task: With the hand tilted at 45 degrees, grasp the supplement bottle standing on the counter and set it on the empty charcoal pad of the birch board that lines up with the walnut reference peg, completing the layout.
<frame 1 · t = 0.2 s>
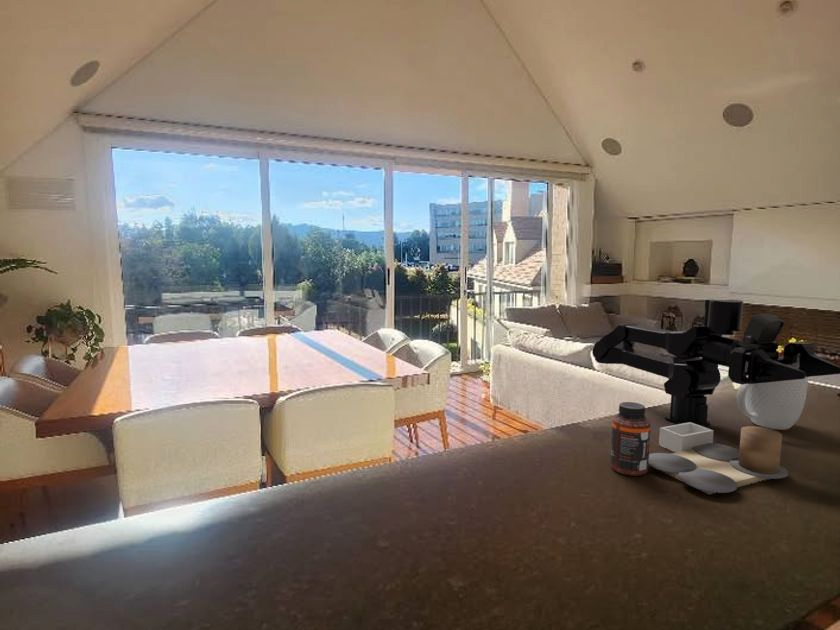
hand: (823, 373, 83), 17 cm above the kitchen counter, tool horizontal, fingers open, 9 cm apart
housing: (685, 446, 95), on the kitchen counter
board: (712, 469, 85), on the kitchen counter
mug: (766, 426, 107), on the kitchen counter
supplement bottle: (628, 470, 85), on the kitchen counter
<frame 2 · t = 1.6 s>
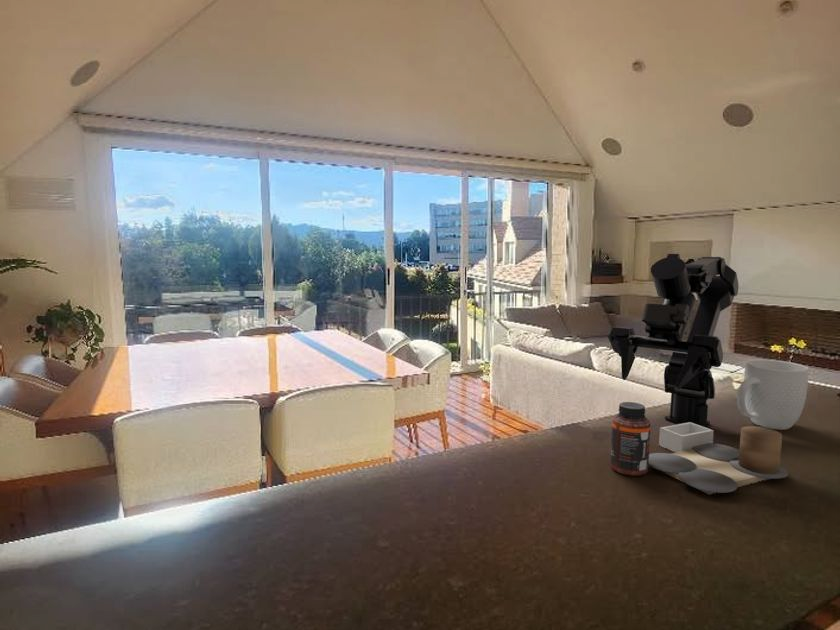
hand: (649, 383, 89), 14 cm above the kitchen counter, tool tilted 45°, fingers open, 9 cm apart
nothing on the kitchen counter moved.
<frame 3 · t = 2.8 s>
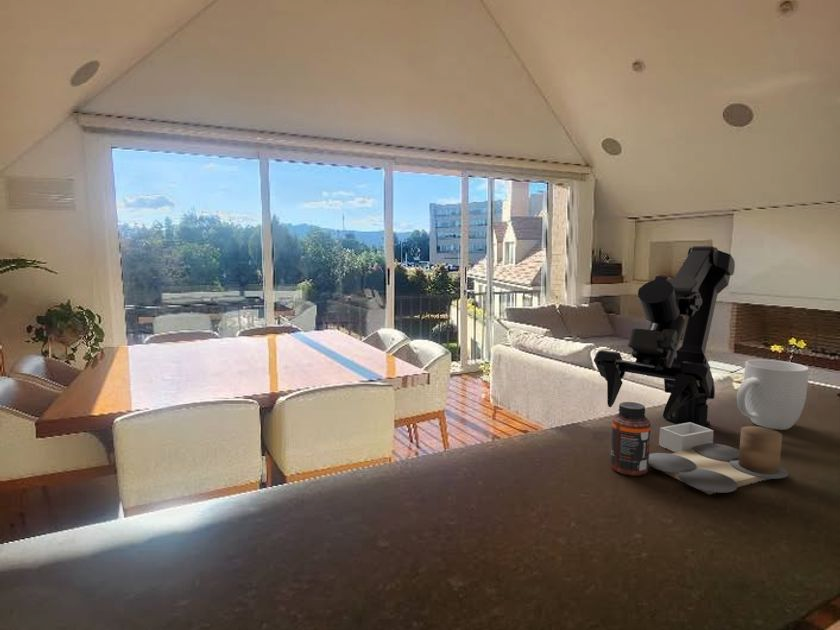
hand: (635, 411, 85), 10 cm above the kitchen counter, tool tilted 45°, fingers open, 9 cm apart
nothing on the kitchen counter moved.
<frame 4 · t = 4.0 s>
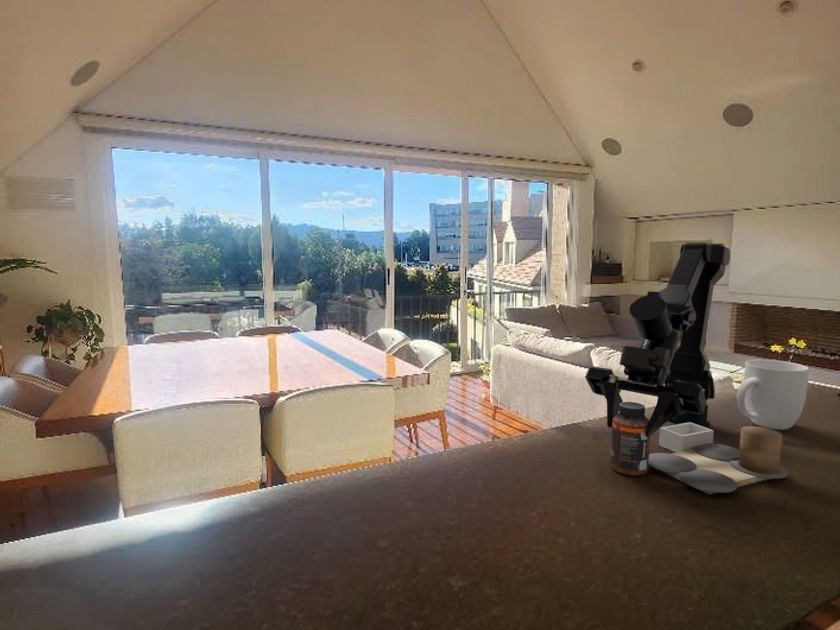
hand: (627, 431, 83), 7 cm above the kitchen counter, tool tilted 45°, fingers closed on supplement bottle, 6 cm apart
supplement bottle: (628, 470, 85), on the kitchen counter, touching gripper
everything else where it was.
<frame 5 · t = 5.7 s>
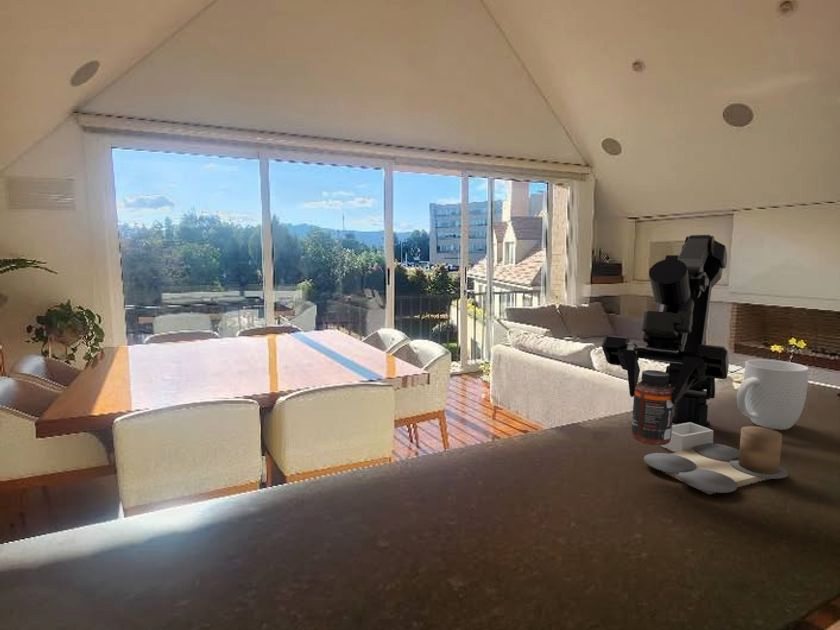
hand: (651, 399, 80), 13 cm above the kitchen counter, tool tilted 45°, fingers closed on supplement bottle, 6 cm apart
supplement bottle: (650, 441, 82), point 6 cm above the kitchen counter, touching gripper
everything else where it was.
when the fingers open (9 cm above the kitchen counter, at t = 7.5 s): supplement bottle stays where it is, resting on board.
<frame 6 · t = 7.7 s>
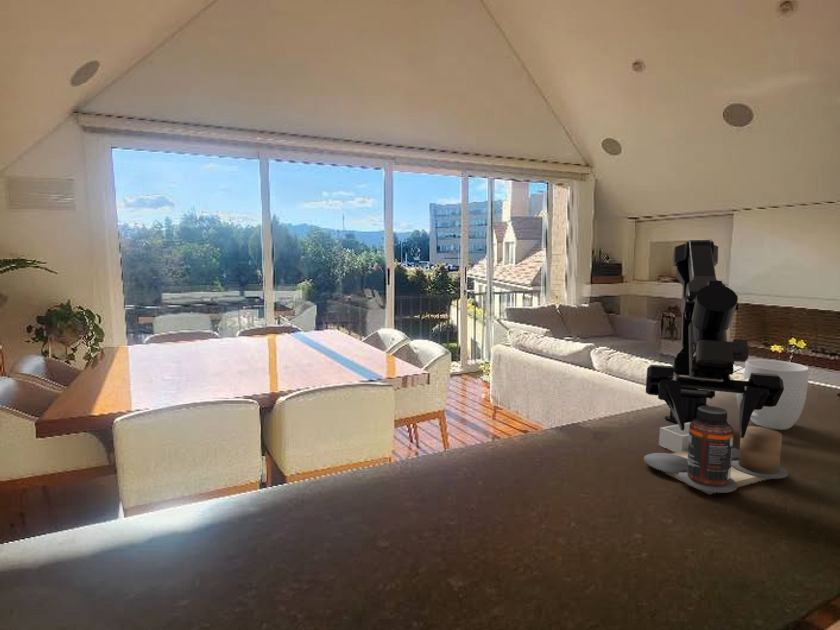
hand: (712, 432, 76), 9 cm above the kitchen counter, tool tilted 45°, fingers open, 8 cm apart
supplement bottle: (707, 480, 79), point 1 cm above the kitchen counter, touching board
everything else where it was.
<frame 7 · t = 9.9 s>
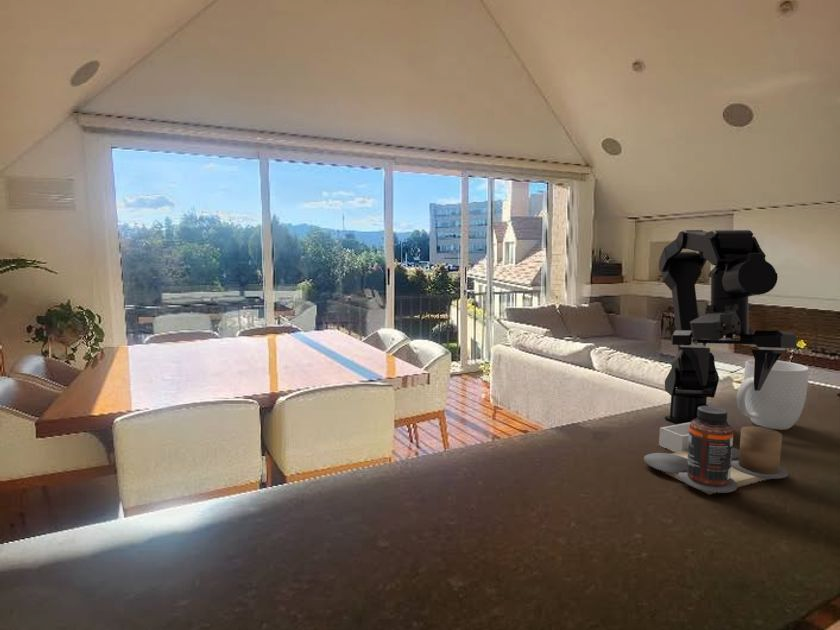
hand: (729, 387, 89), 13 cm above the kitchen counter, tool pointing down, fingers open, 9 cm apart
nothing on the kitchen counter moved.
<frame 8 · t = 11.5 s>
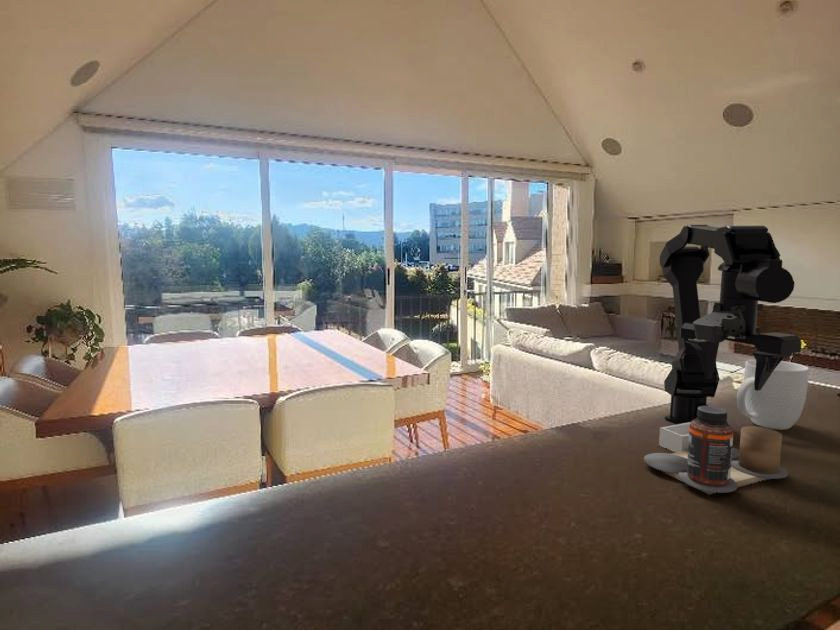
hand: (732, 383, 90), 13 cm above the kitchen counter, tool pointing down, fingers open, 9 cm apart
nothing on the kitchen counter moved.
at the end: supplement bottle inside the target area on the board (0.3 cm from its centre), point 1.0 cm above the board's base; supplement bottle tilted 0°; the gripper is holding nothing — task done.
